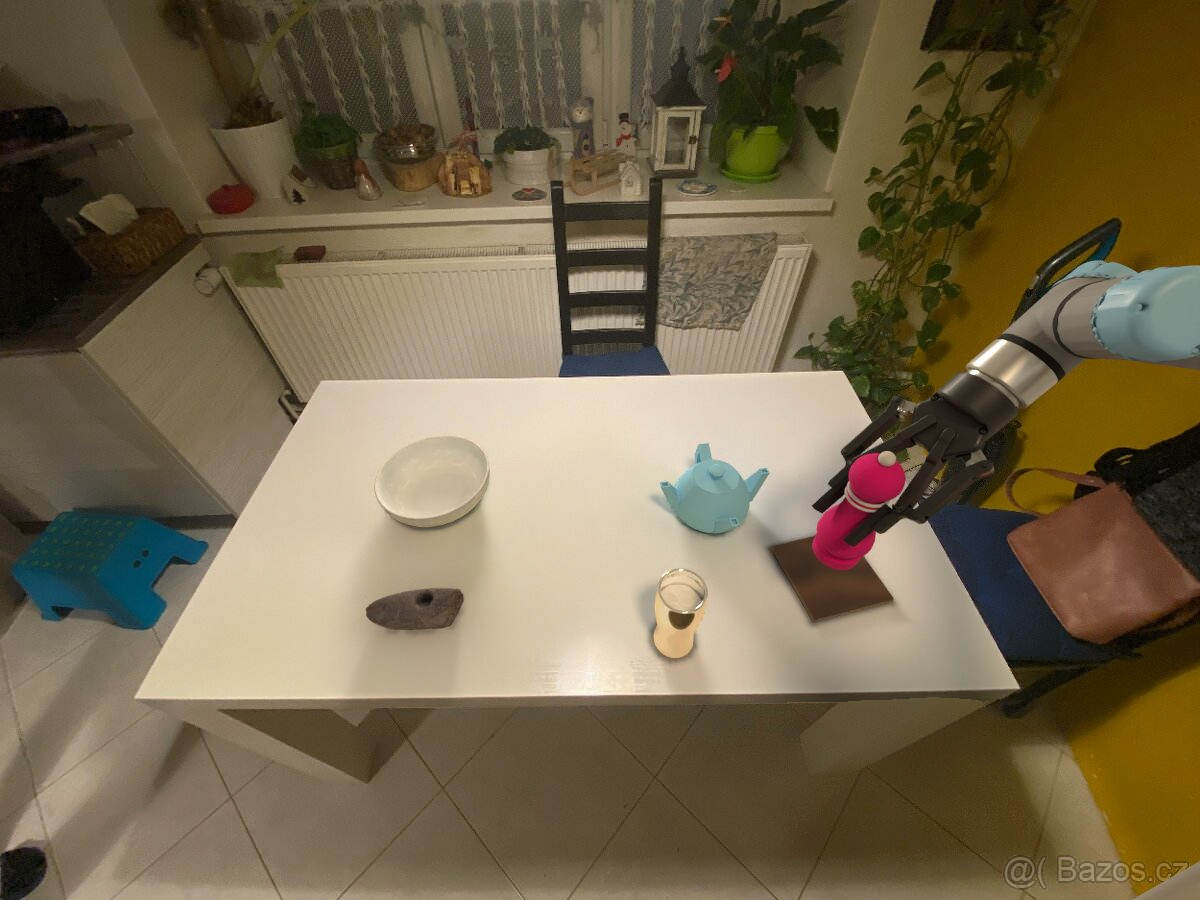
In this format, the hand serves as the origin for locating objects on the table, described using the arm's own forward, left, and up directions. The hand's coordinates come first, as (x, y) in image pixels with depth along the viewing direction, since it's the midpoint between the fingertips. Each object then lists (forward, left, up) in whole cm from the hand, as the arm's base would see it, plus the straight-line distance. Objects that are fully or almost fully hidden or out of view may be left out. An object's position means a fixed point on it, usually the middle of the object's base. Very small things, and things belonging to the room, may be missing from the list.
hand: (832, 525), depth 65 cm
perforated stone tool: (+13, +58, -23) cm, 63 cm away
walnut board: (+4, -9, -22) cm, 25 cm away
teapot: (+22, +5, -23) cm, 32 cm away
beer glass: (0, +20, -23) cm, 30 cm away
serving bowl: (+38, +54, -23) cm, 69 cm away
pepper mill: (+1, -4, -8) cm, 9 cm away
